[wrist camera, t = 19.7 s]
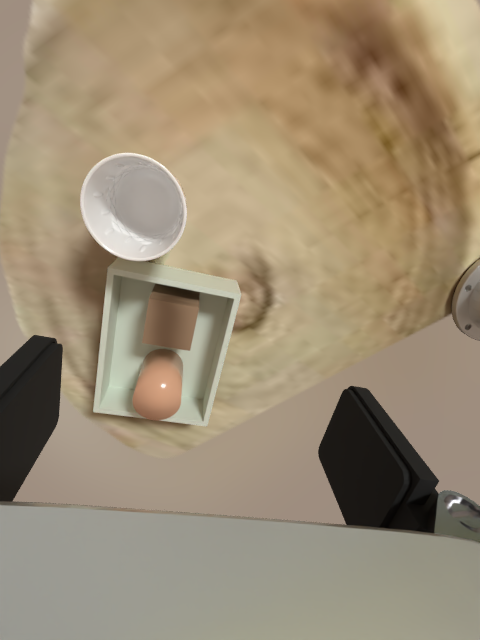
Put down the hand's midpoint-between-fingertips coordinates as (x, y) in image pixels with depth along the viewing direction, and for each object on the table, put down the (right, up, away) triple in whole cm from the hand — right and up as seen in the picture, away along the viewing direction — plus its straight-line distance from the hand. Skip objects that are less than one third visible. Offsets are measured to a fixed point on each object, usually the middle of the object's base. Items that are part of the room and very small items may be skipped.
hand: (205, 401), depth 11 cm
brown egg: (-8, -3, +31) cm, 32 cm away
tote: (-8, +1, +30) cm, 31 cm away
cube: (-7, +4, +28) cm, 29 cm away
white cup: (-8, +15, +24) cm, 29 cm away
